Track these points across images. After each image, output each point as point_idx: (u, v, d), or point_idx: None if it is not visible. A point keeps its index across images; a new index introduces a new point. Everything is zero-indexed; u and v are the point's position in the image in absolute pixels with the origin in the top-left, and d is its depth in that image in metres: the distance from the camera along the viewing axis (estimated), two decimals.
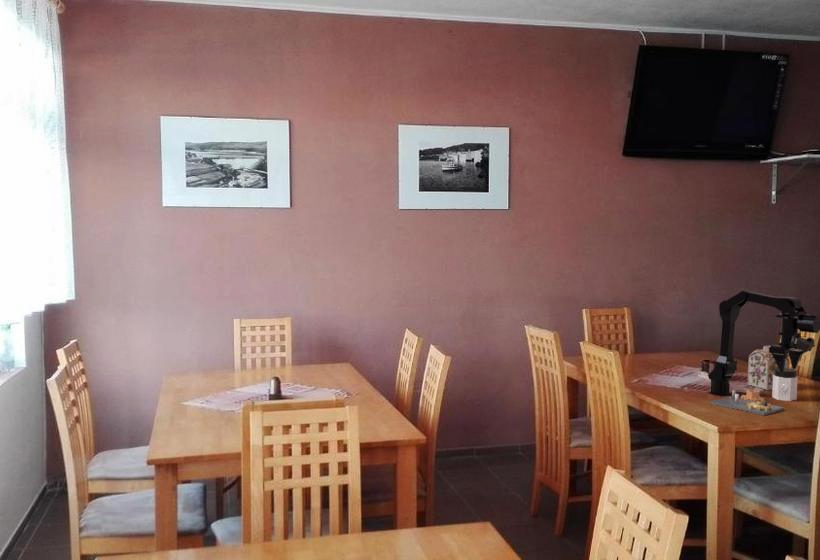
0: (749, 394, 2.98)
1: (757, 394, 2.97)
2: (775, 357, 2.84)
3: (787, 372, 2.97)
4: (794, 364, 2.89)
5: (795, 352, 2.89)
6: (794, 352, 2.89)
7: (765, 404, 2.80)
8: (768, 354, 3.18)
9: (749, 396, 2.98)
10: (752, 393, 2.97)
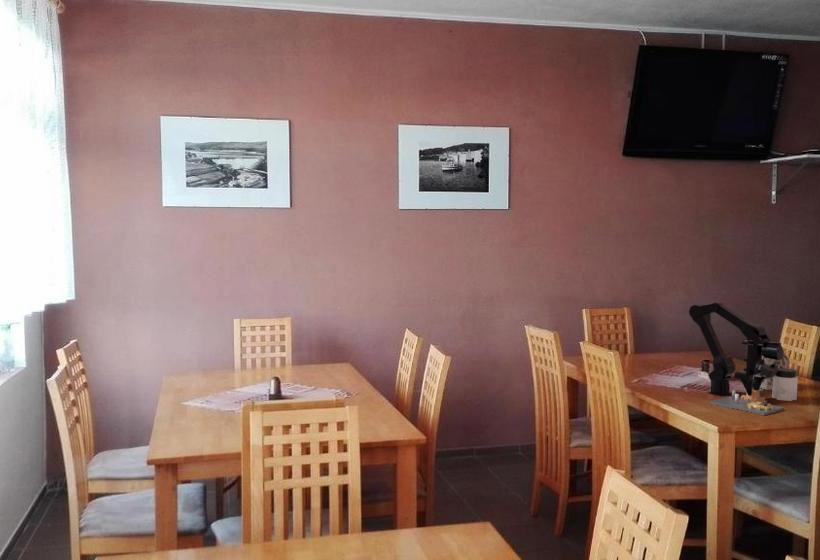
0: None
1: (757, 394, 2.97)
2: (743, 382, 2.98)
3: (787, 372, 2.97)
4: (756, 389, 3.01)
5: (756, 377, 3.01)
6: (756, 378, 3.01)
7: (765, 404, 2.80)
8: None
9: (749, 396, 2.98)
10: (752, 393, 2.97)
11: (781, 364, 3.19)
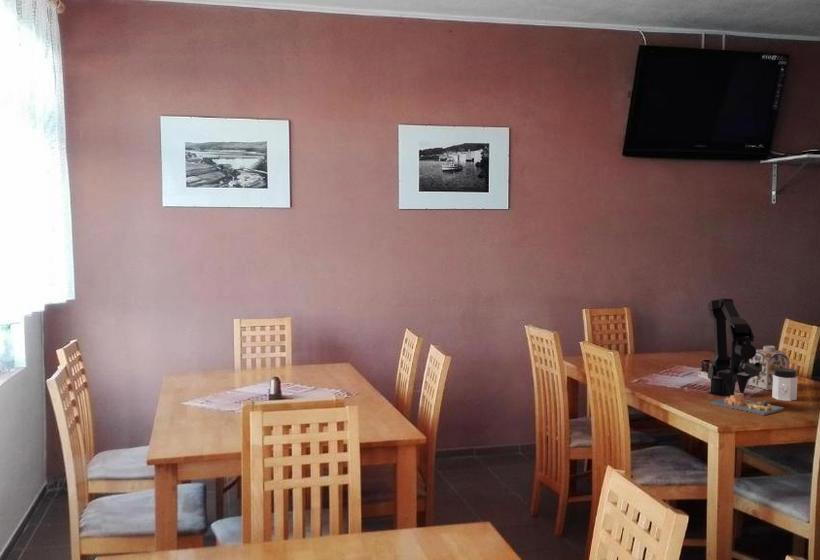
0: (733, 397, 2.89)
1: (741, 397, 2.88)
2: (725, 381, 2.88)
3: (787, 372, 2.97)
4: (741, 388, 2.92)
5: (742, 376, 2.92)
6: (741, 377, 2.92)
7: (765, 404, 2.80)
8: (768, 354, 3.18)
9: (733, 399, 2.89)
10: (736, 396, 2.88)
11: (781, 364, 3.19)
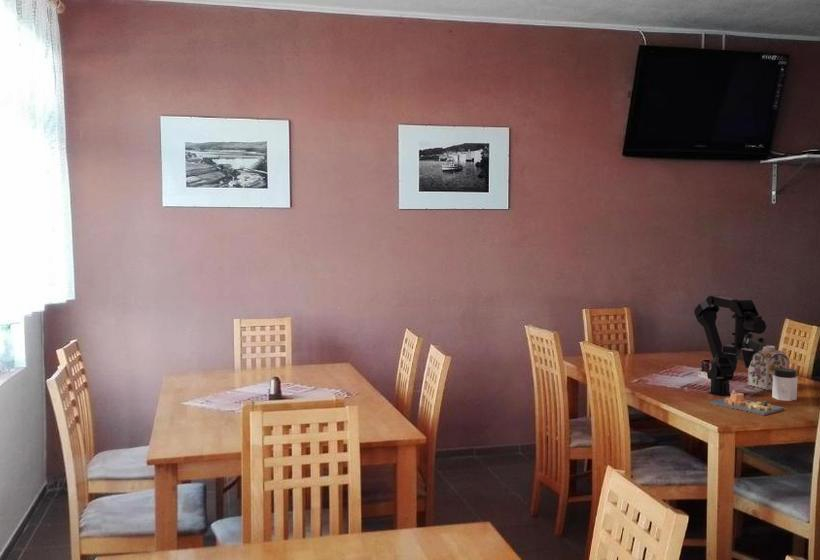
0: (733, 397, 2.89)
1: (741, 397, 2.88)
2: (728, 356, 2.94)
3: (787, 372, 2.97)
4: (747, 363, 2.99)
5: (748, 351, 2.99)
6: (747, 352, 3.00)
7: (765, 404, 2.80)
8: (768, 354, 3.18)
9: (733, 399, 2.89)
10: (736, 396, 2.88)
11: (781, 364, 3.19)
